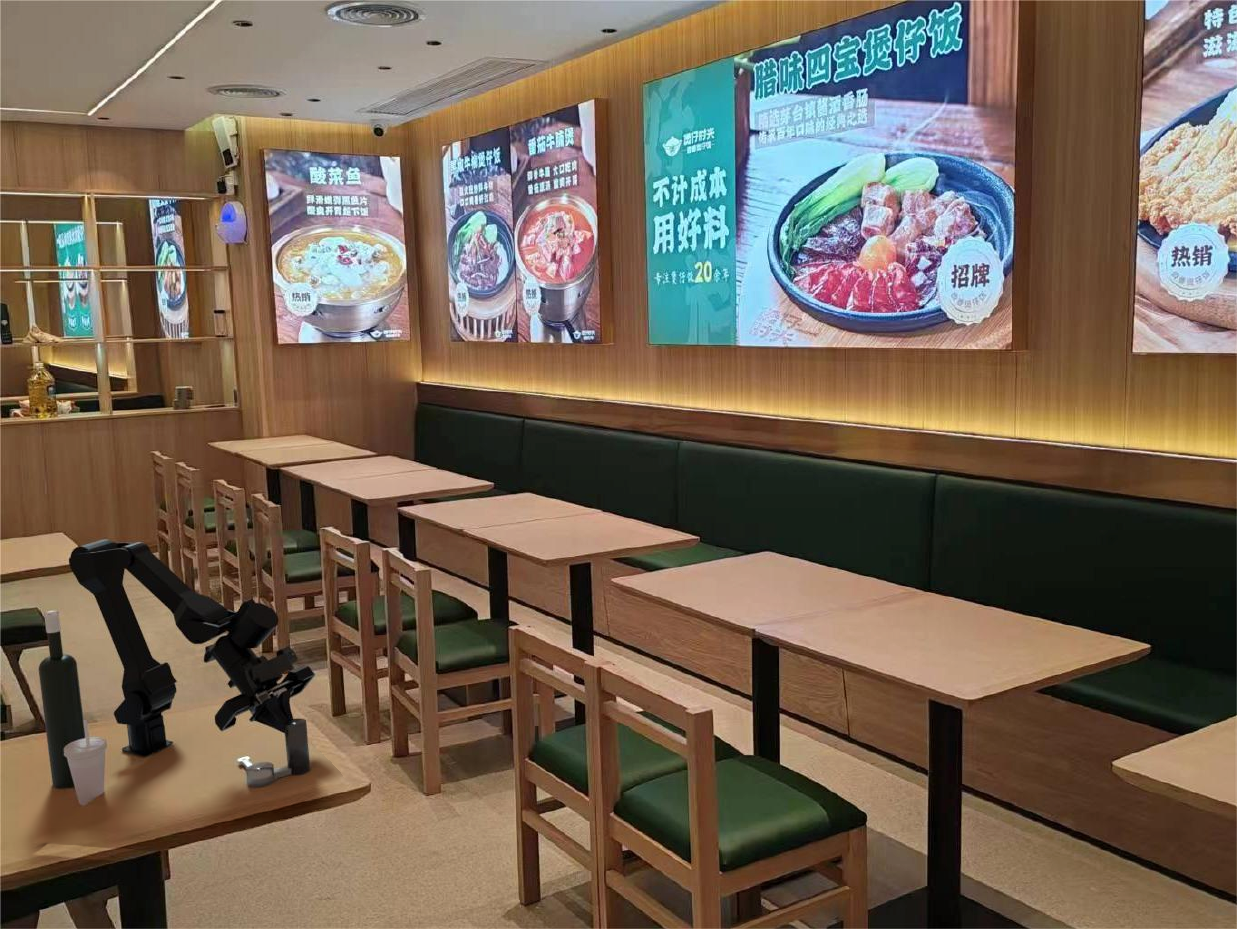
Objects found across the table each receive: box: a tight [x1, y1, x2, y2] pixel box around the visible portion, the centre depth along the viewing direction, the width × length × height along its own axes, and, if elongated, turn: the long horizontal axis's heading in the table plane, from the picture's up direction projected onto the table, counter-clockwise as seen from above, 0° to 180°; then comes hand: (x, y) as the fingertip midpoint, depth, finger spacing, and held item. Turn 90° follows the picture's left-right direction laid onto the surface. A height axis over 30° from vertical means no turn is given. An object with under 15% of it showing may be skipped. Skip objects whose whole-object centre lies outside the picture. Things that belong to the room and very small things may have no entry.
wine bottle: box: [38, 610, 85, 789], centre depth 187 cm, size 6×6×30 cm
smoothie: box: [64, 718, 108, 807], centre depth 181 cm, size 6×6×14 cm
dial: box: [236, 718, 311, 788], centre depth 188 cm, size 10×12×8 cm
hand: (295, 735), depth 188 cm, fingers closed, pressing on dial
